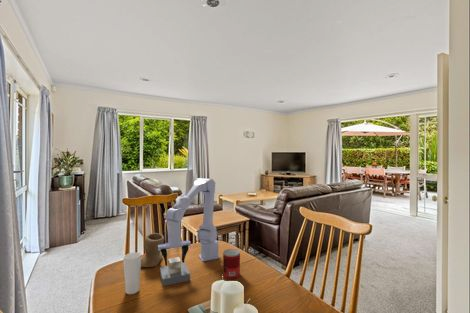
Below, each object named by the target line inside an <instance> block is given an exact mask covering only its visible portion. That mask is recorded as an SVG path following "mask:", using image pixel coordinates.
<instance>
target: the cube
mask: <svg viewBox="0 0 470 313" xmlns="http://www.w3.org/2000/svg"><path fill="white" fill-rule="evenodd" d="M181 263H182V259H180V256H177V257H176V256H175V257H170V258H167V266H168V270H169V273H170V274H173V273H178V272H181Z"/></svg>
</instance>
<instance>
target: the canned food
mask: <svg viewBox="0 0 470 313" xmlns="http://www.w3.org/2000/svg"><path fill="white" fill-rule="evenodd" d="M222 257H223V258H222V264H223V265H222V268H223V270H222V272H223V274H222V275H223V277H224V278H226V279H229V280H235V279H237V278H239V277H240V274H241V252H240V250H239V249H236V248H229V249H226V250H224V251H223V252H222Z"/></svg>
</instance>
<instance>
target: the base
mask: <svg viewBox="0 0 470 313" xmlns="http://www.w3.org/2000/svg"><path fill="white" fill-rule="evenodd" d="M159 275H160V276H159V277H160V280H161V285H162V287H166V286H170V285H176V284H181V283H184V282H189V281H191V272H190V270H189V268H188V266H187V264H186V262H184V263H183V262H181V272H178V273H173V274H170V273H169V270H168V265H167V266H166V265H165V266H160V267H159Z"/></svg>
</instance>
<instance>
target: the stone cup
mask: <svg viewBox="0 0 470 313" xmlns="http://www.w3.org/2000/svg"><path fill="white" fill-rule="evenodd" d="M144 240H145V241H144V246H143V247H144V252H145V254H144V255H143V257H141V268H151V267H156V266H157V265H158V264H159V263H160V261H161V260H162V258H163V255H162V253H161V251H158V245H162V244H165V243H164V242H165V237H164V235H163V234H161V233H158V232H153V233H149V234H148V235H146V237H145V238H144Z"/></svg>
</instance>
